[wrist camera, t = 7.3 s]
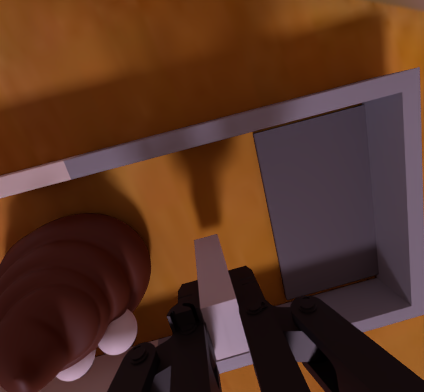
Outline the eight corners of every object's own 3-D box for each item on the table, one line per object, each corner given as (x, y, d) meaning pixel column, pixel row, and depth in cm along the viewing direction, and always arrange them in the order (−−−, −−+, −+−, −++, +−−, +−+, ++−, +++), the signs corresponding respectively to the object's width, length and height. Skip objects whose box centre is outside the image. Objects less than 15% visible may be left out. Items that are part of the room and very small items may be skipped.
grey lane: (374, 77, 18) (419, 67, 14) (389, 284, 22) (425, 313, 19) (87, 152, 17) (63, 160, 14) (162, 349, 22) (158, 391, 18)
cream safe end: (87, 152, 17) (63, 160, 14) (162, 349, 22) (158, 391, 18) (-88, 198, 17) (-156, 218, 13) (25, 388, 21) (-5, 437, 18)
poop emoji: (106, 183, 18) (29, 247, 9) (178, 278, 20) (173, 404, 11) (-17, 260, 18) (-206, 393, 9) (67, 344, 21) (-22, 513, 12)
